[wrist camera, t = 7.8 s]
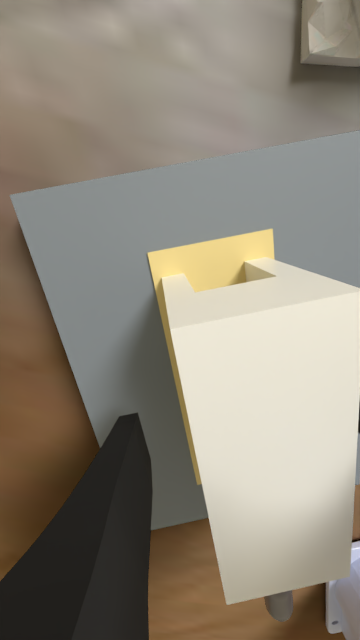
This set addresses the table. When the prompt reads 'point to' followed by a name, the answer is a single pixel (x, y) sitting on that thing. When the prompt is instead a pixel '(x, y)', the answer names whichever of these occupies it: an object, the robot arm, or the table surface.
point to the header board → (176, 258)
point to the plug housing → (272, 423)
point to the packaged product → (330, 32)
